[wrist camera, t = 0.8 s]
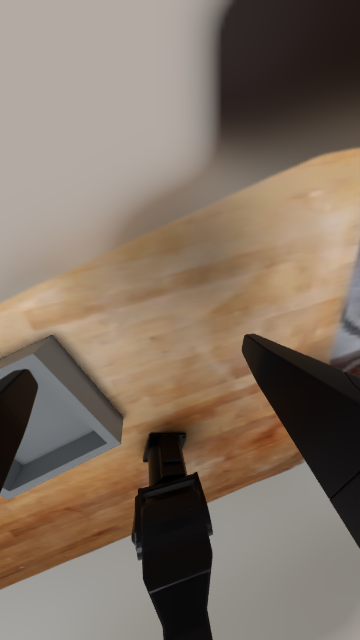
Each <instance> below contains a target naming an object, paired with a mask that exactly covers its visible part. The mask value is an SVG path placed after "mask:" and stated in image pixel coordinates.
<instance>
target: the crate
mask: <svg viewBox="0 0 360 640" xmlns="http://www.w3.org/2000/svg"><path fill="white" fill-rule="evenodd" d="M20 369H28V370H30V371H31V373H32V375H33V376H34V378H35V379H36V381H37V383H38V391H37V395H36V398H35V401H34V405H33V408H32V412H31V415H30V419H29V422H28V425H27V428H26V431H25V434H24V436H23V439H22V441H21V444H20V446H19V449H18V451H17V454H16V456H15V458H14V461H13V463H12V466H11V468H10V471H9V473H8V476H7V478H6V481H5V483H4V486H3V488H2V490H1V493H0V496H2V497H4V498H6V499H8V500H9V499H11V498H13V497H15V496H17V495H19V494H21V493H23V492H25V491H27V490H29V489H31V488H33V487H35V486H37V485H39V484H41V483H43V482H45V481H47V480H49V479H51V478H53V477H55V476H57V475H59V474H61V473H63V472H65V471H67V470H69V469H71V468H73V467H75V466H77V465H80V464H82V463H84V462H86V461H88V460H90V459H92V458H94V457H96V456H98V455H100V454H102V453H104V452H106V451H108V450H110V449H112V448H114V447H116V446H118V445H120V444H121V437H122V427H123V417H122V416H121V415H120V413H119V412H118V411H117V410H116V409H115V408H114V406H113V405H112V404H111V403H110V402H109V401H108V400H107V398H106V397H105V396H104V395H103V394H102V393H101V391H100V390H99V389H98V388H97V387H96V386H95V384H94V383H93V382H92V381H91V380H90V379H89V377H88V376H87V375H86V374H85V373H84V372H83V370H82V369H81V368H80V367H79V366H78V365H77V363H76V362H75V361H74V360H73V359H72V358H71V357H70V355H69V354H68V353H67V352H66V351H65V350H64V348H63V347H62V346H61V345H60V344H59V343H58V341H57V340H56V339H55V338H54V337H53V336H52V335H51V336H48V337H46V338H44V339H42V340H40V341H38V342H36V343H34V344H31V345H29V346H27V347H25V348H23V349H21V350H19V351H17V352H14V353H12V354H10V355H8V356H6V357H4V358H2V359H0V379H2V378H3V377H5V376H6V375H8V374H9V373H11V372H13V371H15V370H20Z"/></svg>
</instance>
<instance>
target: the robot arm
mask: <svg viewBox="0 0 360 640" xmlns="http://www.w3.org/2000/svg"><path fill="white" fill-rule="evenodd" d="M242 353H243V355H244V357H245V359H246V362H247V364H248V366H249V368H250V370H251V372H252V374H253V376H254V378H255V380H256V382H257V383H258V385H259V387H260V388H261V390H262V392H263V393H264V395H265V396H266V398H267V400H268V401H269V403H270V405H271V406H272V408H273V409H274V411H275V413H276V414H277V416H278V417H279V419H280V421H281V422H282V424H283V425H284V427H285V429H286V430H287V432H288V434H289V435H290V437H291V438H292V440H293V442H294V443H295V445H296V446H297V448H298V450H299V451H300V453H301V454H302V456H303V458H304V459H305V461H306V462H307V464H308V466H309V467H310V469H311V471H312V472H313V474H314V475H315V477H316V479H317V480H318V482H319V483H320V485H321V486H322V488H323V490H324V491H325V493H326V495H327V496H328V498H329V499H330V501H331V503H332V505H333V506H334V508H335V509H336V511H337V513H338V514H339V516H340V518H341V519H342V521H343V522H344V524H345V526H346V527H347V529H348V530H349V532H350V534H351V535H352V537H353V538H354V540H355V542H356V543H357V545H358V546H359V548H360V378H359V377H357V376H355V375H352V374H350V373H347V372H343V371H342V370H340V369H338V368H335V367H333V366H331V365H328V364H326V363H323V362H321V361H319V360H316V359H314V358H311V357H309V356H307V355H304V354H302V353H299V352H297V351H295V350H292V349H290V348H287V347H285V346H283V345H280V344H278V343H275V342H273V341H271V340H268V339H266V338H263V337H261V336H259V335H256V334H246V335H245V336H244V339H243V345H242ZM37 391H38V383H37V381H36V379H35V378H34V376H33V375H32V373H31V371H30V370H28V369H20V370H15V371H13V372H11V373H9V374H8V375H6V376H5V377H3V378H2V379H0V493H1V490H2V488H3V486H4V483H5V481H6V478H7V476H8V473H9V471H10V468H11V466H12V463H13V461H14V458H15V456H16V454H17V451H18V449H19V446H20V444H21V441H22V439H23V436H24V434H25V431H26V428H27V425H28V422H29V419H30V415H31V412H32V408H33V405H34V401H35V398H36V395H37ZM185 440H186V433H152V434H150V435H149V437H148V441H147V445H146V448H145V452H144V456H143V462H148V465H149V486H148V487H145V488H138V495H137V496H136V497H135V515H134V522H133V529H132V542H133V543H134V545H135V546H136V551H137V557H138V560H142V568H143V580H144V583H145V586H146V588H147V591H148V593H149V595H150V598H151V600H152V602H153V605H154V607H155V610H156V612H157V614H158V617H159V619H160V621H161V624H162V627H163V637H164V640H213V639H212V633H211V629H210V622H209V617H208V611H207V604H208V595H209V585H210V575H211V566H212V548H211V544H210V539H209V536H211V535H213V531H212V524H211V519H210V514H209V511H208V506H207V502H206V499H205V496H204V493H203V489H202V486H201V483H200V480H199V476H198V473H197V472H195V473H194V474H191V475H187V471H186V467H185V462H184V457H183V452H182V448H183V445H184V442H185Z"/></svg>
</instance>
